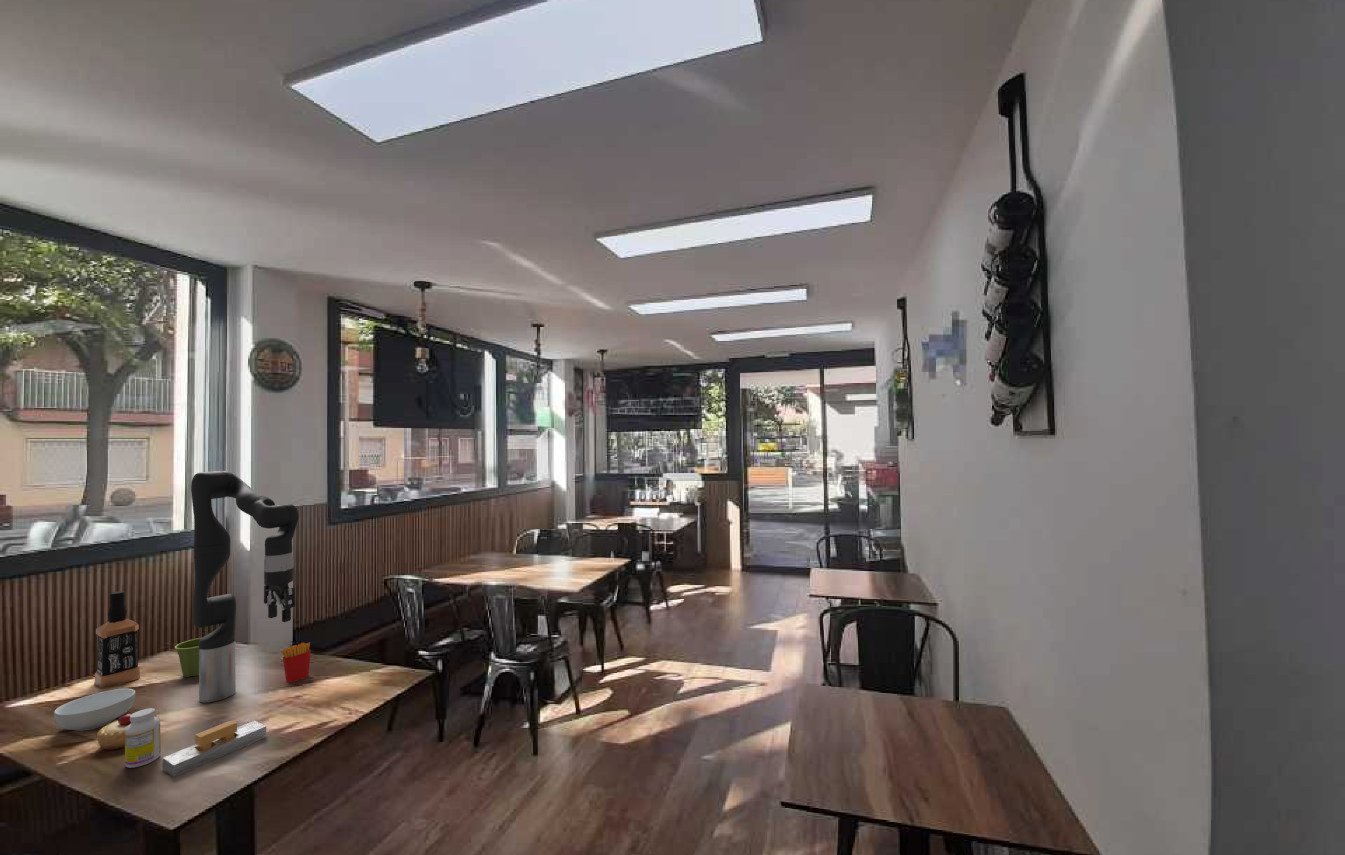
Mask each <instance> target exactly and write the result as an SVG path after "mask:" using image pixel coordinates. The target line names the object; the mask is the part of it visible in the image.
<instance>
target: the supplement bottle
mask: <svg viewBox="0 0 1345 855" xmlns="http://www.w3.org/2000/svg"><path fill="white" fill-rule="evenodd" d="M132 713H133V714H132V715H130V721H131V724H130V725H129V726H128V727H127V728H126V729H125V747H124V760H125V761H124V762H125V767H126V768H130V769H133V768H139V767H143V766H145V765H147V764H151V763H152V762H154V761H156V760H157V759H159V758H160V755H161V754H162V753H161V751H162V750H161V748H162V746H161V720H160V718H159V717H158V716H157V717H154V715H156V709H155V708H154V707H153V708H150V707H149V708H145V709H141V710H138V711H136V712H132Z"/></svg>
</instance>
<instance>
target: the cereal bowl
mask: <svg viewBox="0 0 1345 855" xmlns="http://www.w3.org/2000/svg"><path fill="white" fill-rule="evenodd" d="M135 700H136V690H135V689H133V688H116V689H110V690H106V691H101V692H97V693H93V694H89V695H86V696H83V697H79V698H77V699H74V700H71V701H69V702H66V703H64V704H62V705H60V706H58V707H57V708H56V709H55V710H54V713H53V720H54V723H55V724H56V726H57V727H58V728H60V729H63V730H72V731H73V730H74V731H79V732H85V731H90V730H94V729H95V730H96V729H98V728H102V727H105V726H106V725H107V724H109V723H110V724H111V723H112V722H113V721H115V720H117V719H119V718H120V717H121V716H123V715H125V714H126V713H127V712H128V711H129V710H130V709H131V708H132V706H133V705H134V704H135ZM126 708H127V709H128V711H127V710H126Z"/></svg>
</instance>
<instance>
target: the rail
mask: <svg viewBox="0 0 1345 855" xmlns="http://www.w3.org/2000/svg"><path fill="white" fill-rule="evenodd" d="M263 737H265V738H266V737H267V725H264V724H263V723H261V722H259V721H257V720H253V721H250V722H248V723H244V724H243V725H240V726H237V732H234V738H231V739H229V740H227V741H222V738H220V739H217V740H215V741H213V742H211V747H210V748H207V749H205V750H203V751H199V745H197V744H195V743H194V744H193V745H191V746H188V747H187V748H186V747H185V748H183V749H181V750H179V751H176V752H174V753H171V754H169V755H166V756H164V757H162V770H163V771H164V772H165V773H167V774H169V775H170V776H172V777H173V778H176V777H178V776H180V775H183V774H184V773H187V772H189V771H192V770H194V769H196V768H198V767H201V766H203V765H205V764H208V763H210V762H212V761H214V760H217V759H218V758H222V757H223V756H226V755H229V754H231V753H233V752H235V751H238V750H240V749H242V748H245V747H246V746H249V745H251V744H253V743H256V742H258V741H260V740H262V738H263ZM263 739H264V738H263ZM248 744H249V745H248Z"/></svg>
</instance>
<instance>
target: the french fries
mask: <svg viewBox="0 0 1345 855" xmlns="http://www.w3.org/2000/svg"><path fill="white" fill-rule="evenodd" d="M310 645H311V642H307V643H305V642H300V643H299V644H298V645H297V644H295V645H292V646H291V647H289V646H288V647H286V649H282V650H281V653H282V656H283V657H282V661H283V669H284V676H285V682H287V683H293V682H297V681H300V680H302V679H305V678H307V677H308V676H309V673H310V664H311V663H310V662H311V652H312V651H311V649H310V647H311V646H310Z"/></svg>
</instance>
